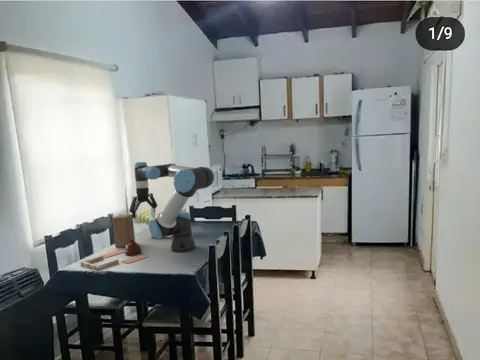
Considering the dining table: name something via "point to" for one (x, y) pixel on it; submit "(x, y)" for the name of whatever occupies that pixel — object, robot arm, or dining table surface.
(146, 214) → the slatted curved stool
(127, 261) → the pads
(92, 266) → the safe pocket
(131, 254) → the poop emoji
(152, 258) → the dining table surface
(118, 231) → the wooden block
